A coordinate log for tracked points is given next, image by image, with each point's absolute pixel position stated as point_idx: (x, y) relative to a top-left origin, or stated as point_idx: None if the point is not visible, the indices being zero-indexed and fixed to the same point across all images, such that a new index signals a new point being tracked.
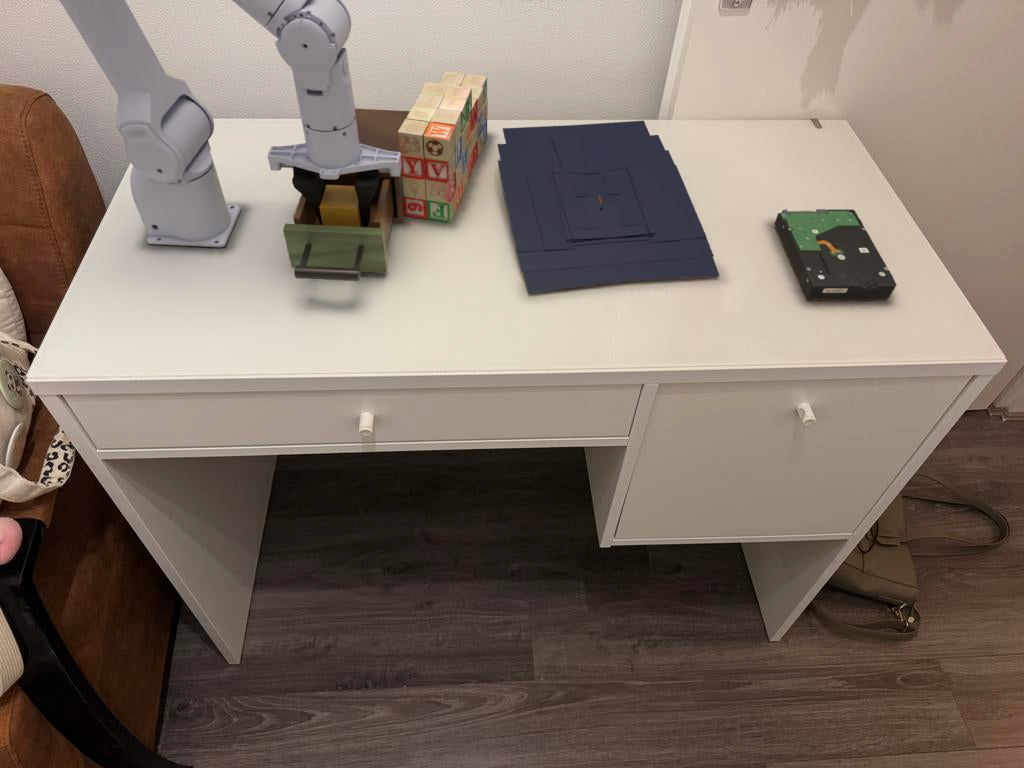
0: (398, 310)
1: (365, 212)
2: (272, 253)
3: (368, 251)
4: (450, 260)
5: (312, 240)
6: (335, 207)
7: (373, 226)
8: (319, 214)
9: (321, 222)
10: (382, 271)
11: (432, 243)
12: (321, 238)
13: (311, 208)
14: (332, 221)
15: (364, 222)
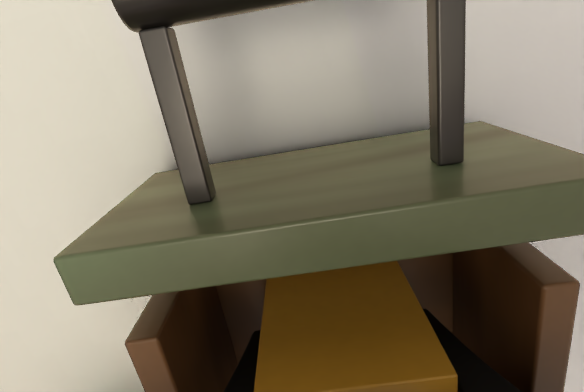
0: (56, 18)
1: (233, 388)
2: None
3: (179, 198)
4: (25, 279)
5: (436, 176)
6: (369, 387)
7: None
8: (444, 342)
9: (427, 315)
10: (165, 172)
11: (107, 329)
12: (391, 187)
13: None
14: (376, 318)
15: (256, 345)
